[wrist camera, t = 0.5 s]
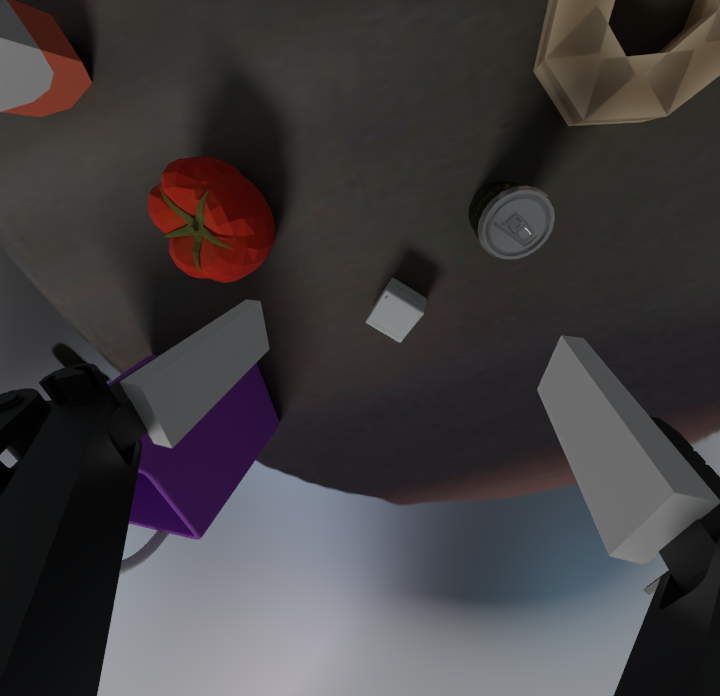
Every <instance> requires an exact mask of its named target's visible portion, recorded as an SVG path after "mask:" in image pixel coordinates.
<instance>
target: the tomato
mask: <svg viewBox="0 0 720 696" xmlns="http://www.w3.org/2000/svg"><path fill="white" fill-rule="evenodd" d="M148 211H149V213H150V215H151V218H152V220H153V222H154V224H155V225H156V226H157V227H158V228H159V229H161V230H162V231H163V232H164V233H165V234H166V236H164V237H169V238H170V242H169V253H170V255H171V257H172V259H173V260H174V262H175V264H176V266H177V267H179V268H180V269H181V270H183V271H184V272H185V273H186V274H188V275H189V276H192V277H195V278H211V279H213V280H216V281H219V282H222V283H226V282H234V281H236V280H239V279H241V278H243V277H245V276H246V275H248V274H250V273H251V272H253V271H255V270H256V269H257V268H259V266H260V265H261V264H262V263H263V261H264V260H265V259H266V258H267V256H268V255H269V254H270V251H271V248H272V245H273V243H274V235H275V224H274V219H273V215H272V211H271V209H270V207H269V206H268V204H267V202H266V200H265V198H264V196H263V195H262V194H261V192H260V191H259V190H258V189H257V187H256V186H255V185H254V184H253V183H252V182H251V181H249V180H248V179H247V178H245V177H244V176H242V175H241V173H240V172H239V171H238V170H237V169H236V167H235V166H233V165H230V164H228V163H225V162H223V161H221V160H219V159H217V158H213V157H207V156H205V157H193V158H184V159H178V160H176V161H174V162H171V163H169V164H168V166H167V167H166V169H165V170H164V172H163V173H162V182H161V183H160V184H159V185H157V186H156V187H154V188H153V189H152V190H151V192H150V194H149V202H148Z"/></svg>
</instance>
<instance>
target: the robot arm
mask: <svg viewBox="0 0 720 696" xmlns="http://www.w3.org/2000/svg"><path fill="white" fill-rule="evenodd" d="M268 350H269V343H268V338H267V333H266V327H265V322H264V317H263V311H262V306H261V301H256V300H248V299H246V300H245V301H243V302H242V303H240V304H239V305H237V306H236V307H234V308H232V309H231V310H229V311H228V312H226V313H225V314H223V315H222V316H220V317H219V318H217V319H216V320H214V321H212V322H211V323H209V324H208V325H206V326H205V327H203V328H202V329H200V330H199V331H197V332H196V333H194V334H192V335H191V336H189V337H188V338H186V339H185V340H183V341H182V342H180V343H179V344H177V345H175V346H174V347H171V348H169V349H167V350H165V351H163V352H162V353H160V354H159V355H157V356H156V357H155V359H154V358H152V359H151V360H149V361H148V362H146V364H145V365H144V364H143V365H142V366H140V367H138V368H137V369H135V370H134V371H132V372H131V373H129V374H128V375H126V376H124V377H123V378H121V379H120V380H118V381H117V382H115V383H114V384H112V385H110V386H108V384H107V382H106V381H105V379H104V377H103V375H102V374H101V372H100V370H99V369H98V367H97V366H96V365H94V364H87V363H85V364H77V365H72V366H69V367H65V368H62V369H60V370H57V371H55V372H53V373H51V374H49V375H48V376H46V377H44V378H43V379H42V380H41V381H40V382H39V383H40V385H41V386H42V387H43V389H44V390H45V391H46V393H47V394H48V395H49V397H50V398H51V399H52V400H51V401H45V400H44V399H43V398H42V396H41V395H40V393H39V392H38V391H37V390H35V389H20V390H13V391H9V392H7V393H3V394H0V454H1V453H2V452H3V451H4V450H5V449H7V450H8V451H9V452H10V453H11V454H12V455H13V456H14V457H15V458H16V459H17V460H18V462H16V464H15V465H14V466H12V467H11V468H8V467H6V466H5V465H4V464H3V463H2V462H1V461H0V696H97V692H98V687H99V682H100V676H101V671H102V665H103V659H104V654H105V649H106V644H107V638H108V633H109V627H110V622H111V616H112V611H113V606H114V600H115V594H116V589H117V584H118V578H119V573H120V568H121V562H122V556H123V551H124V546H125V540H126V535H127V529H128V524H129V519H130V513H131V508H132V502H133V497H134V491H135V486H136V481H137V475H138V470H139V464H140V459H141V453H142V448H143V446H142V442H141V440H140V438H141V437H142V436H143V435H144V434H145V433H147V432H148V434H149V436H150V438H151V439H152V441H153V443H154V444H157V445H161V446H165V447H169V448H173V447H174V446H175V445H176V444H177V443H178V442H179V441H180V440H181V439H182V438H183V437H184V436H185V435H186V434H187V433H188V432H189V431H190V430H191V429H192V428H193V427H194V426H195V425H196V424H197V423H198V422H199V421H200V420H201V419H202V418H203V417H204V416H205V415H206V414H207V412H208V411H209V410H210V409H211V408H212V407H213V406H214V405H215V404H216V403H217V402H218V401H219V400H220V399H221V398H222V397H223V396H224V395H225V394H226V393H227V392H228V391H229V390H230V389H231V388H232V387H233V386H234V385H235V384H236V383H237V382H238V381H239V380H240V379H241V378H242V377H243V376H244V375H245V374H246V373H247V372H248V371H249V370H250V369H251V368H252V366H253V365H254V364H255V363H256V362H257V361H258V360H259V359H260V358H261V357H262V356H263V355H264V354H265V353H266V352H267V351H268ZM537 390H538V392H539V395H540V397H541V399H542V402H543V404H544V406H545V409H546V411H547V413H548V416H549V418H550V420H551V423H552V425H553V427H554V429H555V432H556V434H557V436H558V439H559V441H560V443H561V446H562V448H563V450H564V453H565V455H566V457H567V459H568V462H569V464H570V466H571V469H572V471H573V473H574V476H575V478H576V480H577V483H578V485H579V487H580V490H581V492H582V494H583V496H584V499H585V501H586V503H587V505H588V508H589V510H590V512H591V515H592V517H593V519H594V522H595V524H596V526H597V529H598V531H599V533H600V536H601V538H602V540H603V542H604V545H605V547H606V550H607V552H608V554H609V556H612V557H615V558H619V559H623V560H627V561H632V562H636V563H640V564H644V565H645V564H646V563H648V562H649V561H650V560H651V559H652V558H654V557H655V556H656V555H657V554H658V553H660V555H661V556H662V558H663V560H664V562H665V563H666V565H667V567H668V569H669V571H667V572H666V573H665V574H663V575H662V576H660V577H659V578H658V579H656V580H655V581H654V582H652V583H651V584H650V585H648V586H647V587H646V588H645V589H644V591H645V592H646V593H648V594H649V595H650V594H651V593H652V592H654V591H655V590H656V591H655V593H654V596H653V598H652V601H651V603H650V606H649V608H648V611H647V613H646V616H645V618H644V621H643V624H642V626H641V629H640V631H639V634H638V636H637V639H636V641H635V644H634V646H633V649H632V651H631V654H630V656H629V659H628V661H627V664H626V666H625V669H624V671H623V674H622V677H621V679H620V681H619V684H618V687H617V689H616V692H615V694H614V696H720V477H719V476H718V475H717V474H716V473H715V472H714V470H713V469H712V468H711V467H710V466H709V465H706V464H705V462H706V461H705V460H704V459H703V458H702V457H701V456H700V455H699V454H698V453H697V452H696V451H693V447H692V446H691V445H690V444H689V443H688V442H687V441H686V439H685V438H684V437H683V436H682V435H681V434H680V433H679V432H678V431H676V430H675V429H674V428H672V427H671V426H669V425H668V424H667V423H665V422H664V421H662V420H661V419H660V418H655V417H649V416H648V414H647V413H646V412H645V411H644V410H643V409H642V407H641V406H640V405H639V404H638V403H637V401H636V400H635V399H634V398H633V397H632V395H631V394H630V393H629V392H628V391H627V390H626V388H625V387H624V386H623V385H622V384H621V382H620V381H619V380H618V379H617V378H616V377H615V375H614V374H613V373H612V372H611V371H610V369H609V368H608V367H607V366H606V365H605V363H604V362H603V361H602V360H601V359H600V358H599V356H598V355H597V354H596V353H595V352H594V350H593V349H592V348H591V347H590V346H589V344H588V343H587V342H586V341H585V340H584V339H583V338H579V337H570V336H561V337H560V339H559V341H558V344H557V346H556V348H555V350H554V353H553V355H552V357H551V360H550V362H549V364H548V366H547V369H546V371H545V373H544V375H543V378H542V380H541V382H540V384H539V387H538V389H537Z"/></svg>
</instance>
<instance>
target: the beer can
mask: <svg viewBox="0 0 720 696" xmlns="http://www.w3.org/2000/svg"><path fill="white" fill-rule="evenodd" d="M468 216H469V220H470V224H471V226H472V228H473V230H474V232H475V234H476V236H477V238H478V240H479V242H480V243H481V245H482V246H483V248H484V249H485V251H487V252H488V253H490V254H491V255H492V256H494V257H498V258H502V259H518V258H521V257H524V256H528V255H529V254H531V253H532V252H534V251H536V250H537V249H538V248H539V247H540V246H541V245H542V244H543V243H544V242H545V241H546V240H547V238H548V236H549V235H550V233H551V231H552V228H553V224H554V220H555V217H554V208H553V205H552V203H551V201H550V199H549V197H548V195H546V194H545V193H544V192H542V191H541V190H540V189H539V188H535V187H531V186H527V185H522V184H516V183H511V182H505V181H498V182H493V183H490V184H488V185H486V186H484V187H483V188H482V189H481V190H479V191H478V192H477V194H476V195H475V196H474V198H473V199H472V202H471V204H470V207H469V215H468Z"/></svg>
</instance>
